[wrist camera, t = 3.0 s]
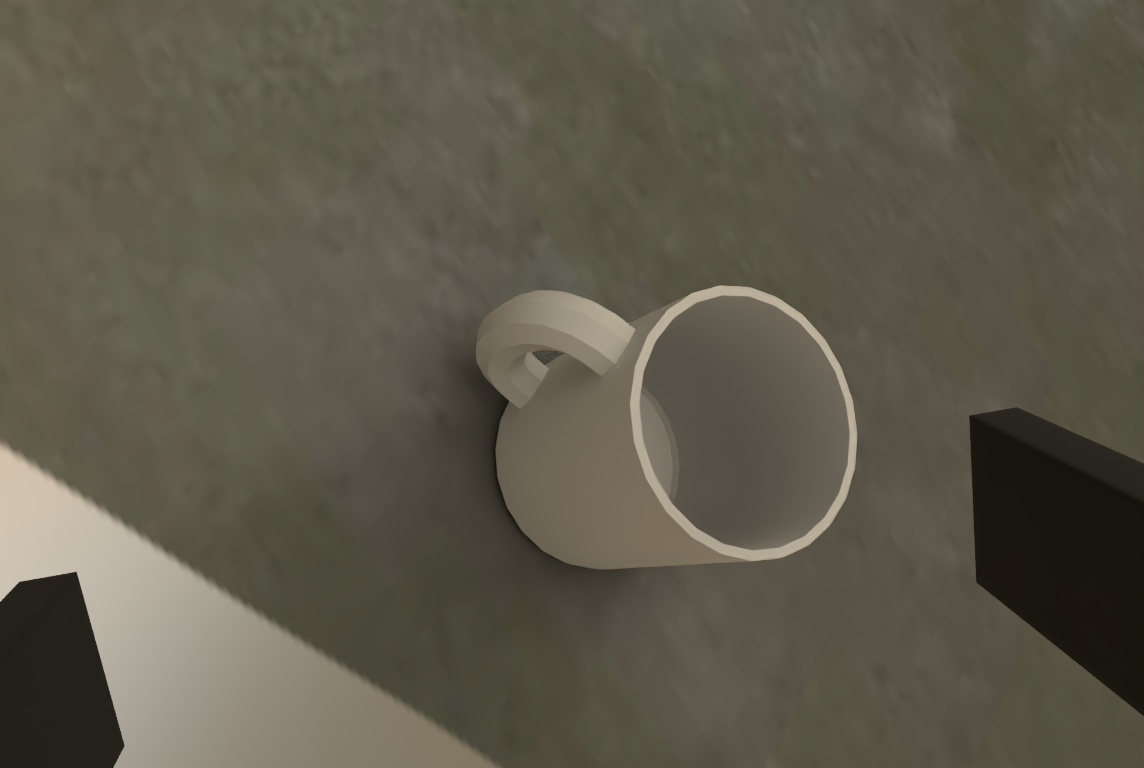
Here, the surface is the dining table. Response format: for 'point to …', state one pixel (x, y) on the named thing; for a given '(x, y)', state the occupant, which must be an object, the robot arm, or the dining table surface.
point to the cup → (668, 428)
